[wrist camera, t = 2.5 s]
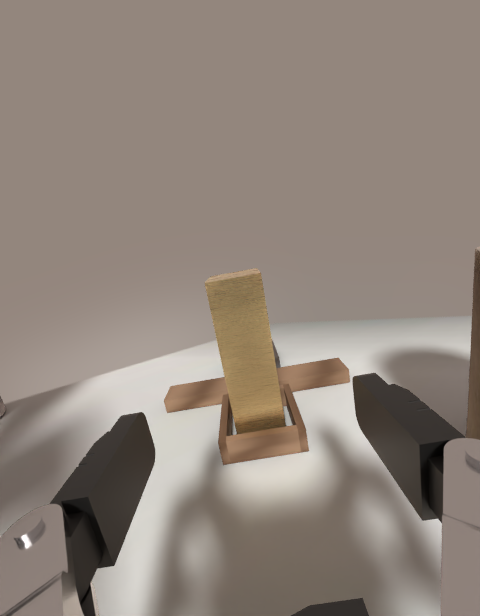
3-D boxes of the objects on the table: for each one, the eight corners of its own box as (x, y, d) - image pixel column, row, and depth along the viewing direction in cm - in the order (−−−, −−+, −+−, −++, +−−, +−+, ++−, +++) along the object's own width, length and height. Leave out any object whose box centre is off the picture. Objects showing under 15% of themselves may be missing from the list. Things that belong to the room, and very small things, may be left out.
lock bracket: (139, 478, 21) (133, 457, 20) (186, 366, 40) (183, 354, 39) (395, 437, 20) (394, 414, 20) (318, 343, 39) (316, 331, 39)
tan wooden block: (240, 449, 22) (204, 283, 19) (239, 418, 26) (210, 276, 23) (288, 441, 22) (260, 272, 19) (280, 411, 26) (256, 268, 22)
